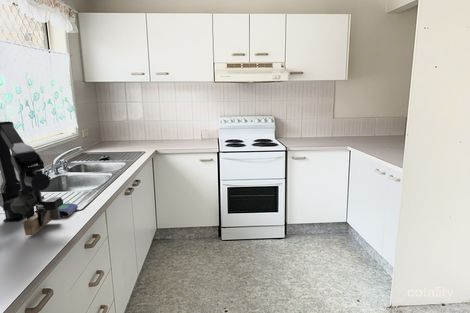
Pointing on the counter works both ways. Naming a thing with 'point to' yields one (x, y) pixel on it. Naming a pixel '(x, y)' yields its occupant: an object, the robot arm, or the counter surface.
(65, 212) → the blue painted container
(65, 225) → the counter surface
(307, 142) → the counter surface
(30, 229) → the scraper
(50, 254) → the counter surface
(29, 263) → the counter surface
